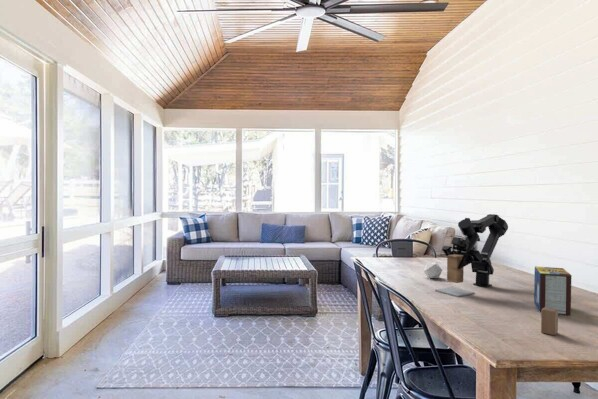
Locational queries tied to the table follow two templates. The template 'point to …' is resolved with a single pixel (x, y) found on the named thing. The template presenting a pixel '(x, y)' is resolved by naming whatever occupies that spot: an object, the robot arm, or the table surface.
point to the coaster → (455, 291)
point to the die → (432, 270)
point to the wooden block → (549, 321)
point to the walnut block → (454, 268)
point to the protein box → (552, 289)
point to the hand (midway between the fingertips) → (453, 267)
